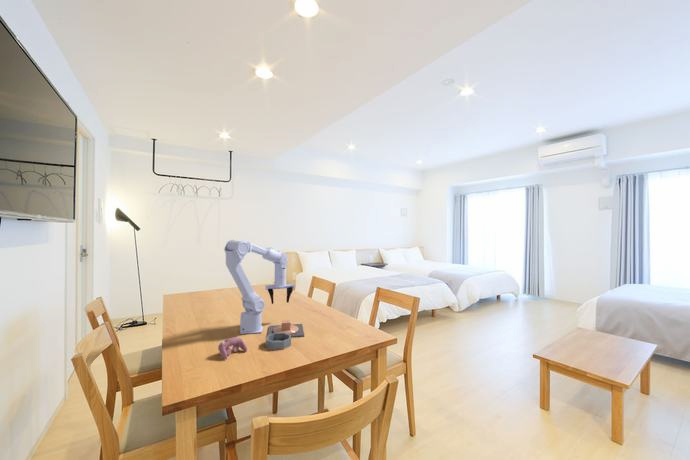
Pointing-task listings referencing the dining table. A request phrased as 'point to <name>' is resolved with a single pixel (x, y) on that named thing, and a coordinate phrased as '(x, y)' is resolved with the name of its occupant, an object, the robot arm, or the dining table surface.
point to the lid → (286, 328)
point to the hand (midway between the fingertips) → (280, 302)
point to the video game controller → (234, 342)
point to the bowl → (278, 341)
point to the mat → (298, 334)
